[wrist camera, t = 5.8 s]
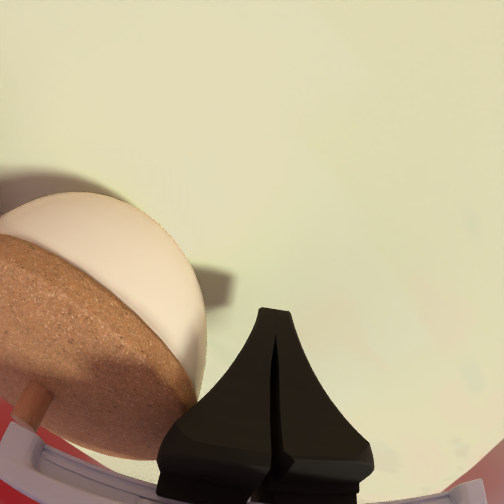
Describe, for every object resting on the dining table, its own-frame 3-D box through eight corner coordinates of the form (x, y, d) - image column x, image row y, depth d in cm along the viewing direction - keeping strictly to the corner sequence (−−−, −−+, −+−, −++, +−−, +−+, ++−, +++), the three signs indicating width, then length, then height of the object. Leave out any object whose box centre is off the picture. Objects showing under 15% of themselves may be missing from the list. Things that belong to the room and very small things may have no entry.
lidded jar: (86, 337, 19) (23, 456, 11) (13, 183, 13) (-117, 288, 5) (248, 338, 17) (222, 511, 9) (201, 131, 12) (39, 280, 4)
